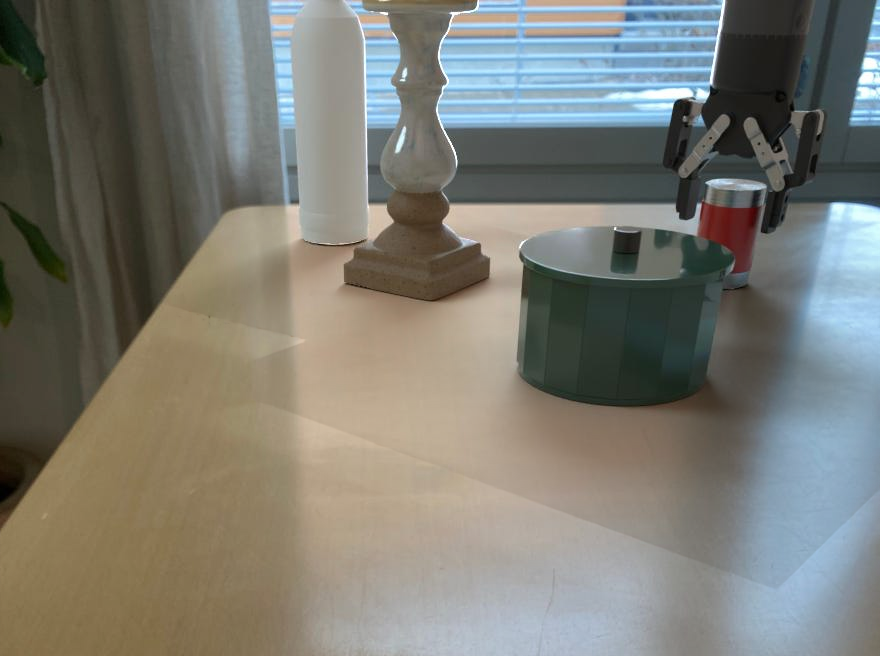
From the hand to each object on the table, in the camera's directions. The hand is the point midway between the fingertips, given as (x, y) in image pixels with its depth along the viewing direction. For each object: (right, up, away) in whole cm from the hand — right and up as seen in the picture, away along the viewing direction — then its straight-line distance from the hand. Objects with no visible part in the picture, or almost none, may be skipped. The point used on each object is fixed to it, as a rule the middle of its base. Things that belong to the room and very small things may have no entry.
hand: (726, 225), depth 94 cm
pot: (-15, -19, -17) cm, 30 cm away
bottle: (-39, +6, +18) cm, 44 cm away
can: (0, -4, +3) cm, 5 cm away
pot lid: (-15, -12, -22) cm, 29 cm away
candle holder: (-30, -4, +4) cm, 30 cm away
